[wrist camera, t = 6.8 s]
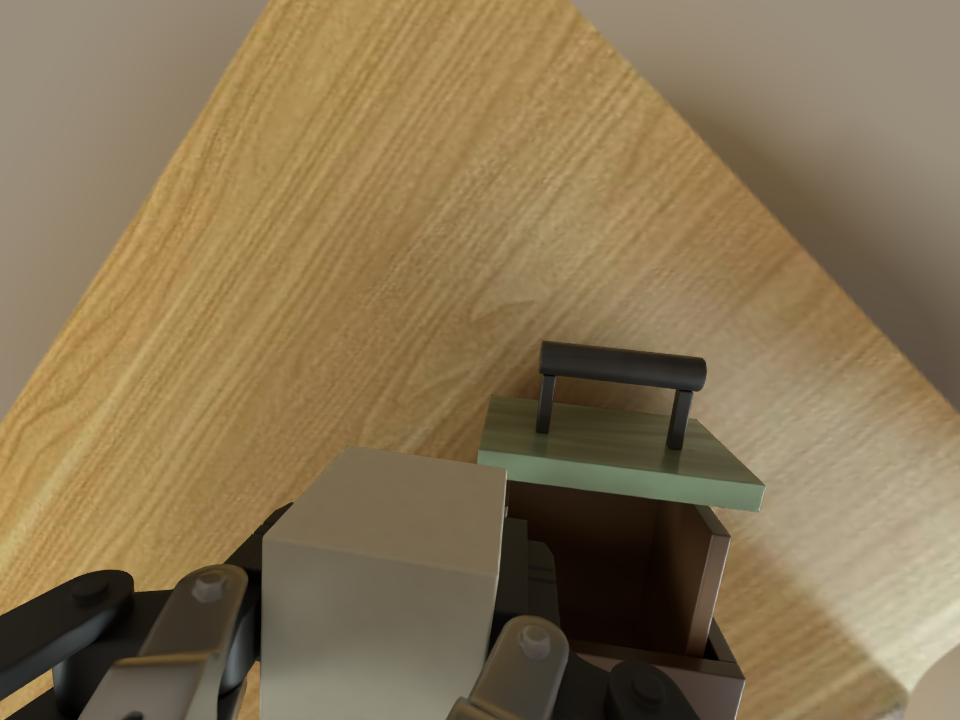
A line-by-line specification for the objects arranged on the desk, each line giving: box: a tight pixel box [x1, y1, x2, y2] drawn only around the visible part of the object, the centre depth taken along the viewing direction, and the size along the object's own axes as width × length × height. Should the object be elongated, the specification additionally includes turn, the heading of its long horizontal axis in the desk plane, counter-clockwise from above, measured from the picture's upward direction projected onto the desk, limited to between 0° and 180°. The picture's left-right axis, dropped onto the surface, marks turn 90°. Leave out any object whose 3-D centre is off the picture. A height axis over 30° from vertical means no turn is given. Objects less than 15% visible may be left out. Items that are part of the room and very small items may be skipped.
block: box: [259, 445, 507, 720], centre depth 11 cm, size 4×4×4 cm
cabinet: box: [567, 616, 746, 720], centre depth 26 cm, size 15×13×10 cm
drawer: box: [477, 340, 765, 659], centre depth 24 cm, size 18×11×8 cm, turn 175°
